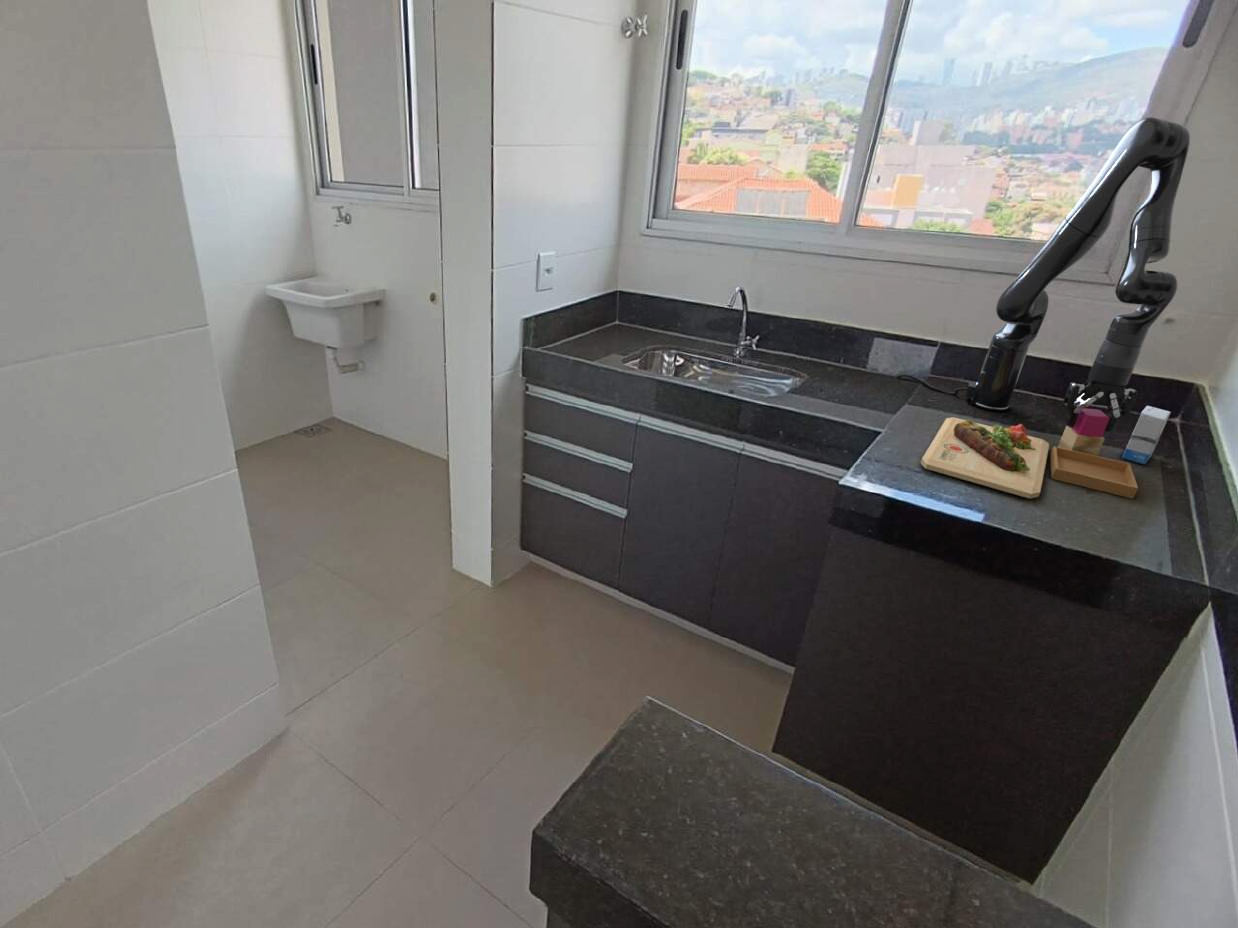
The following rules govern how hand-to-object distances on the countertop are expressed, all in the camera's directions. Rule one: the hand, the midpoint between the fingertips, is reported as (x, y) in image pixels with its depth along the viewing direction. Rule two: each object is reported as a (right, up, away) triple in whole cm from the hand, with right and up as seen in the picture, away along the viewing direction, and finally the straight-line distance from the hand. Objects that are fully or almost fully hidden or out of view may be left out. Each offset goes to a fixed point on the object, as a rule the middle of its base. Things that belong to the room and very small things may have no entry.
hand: (1087, 428), depth 155 cm
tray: (-5, -11, -7) cm, 14 cm away
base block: (0, -6, +3) cm, 7 cm away
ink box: (+15, -7, +4) cm, 17 cm away
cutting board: (-25, -7, -1) cm, 26 cm away
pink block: (0, -1, 0) cm, 1 cm away
